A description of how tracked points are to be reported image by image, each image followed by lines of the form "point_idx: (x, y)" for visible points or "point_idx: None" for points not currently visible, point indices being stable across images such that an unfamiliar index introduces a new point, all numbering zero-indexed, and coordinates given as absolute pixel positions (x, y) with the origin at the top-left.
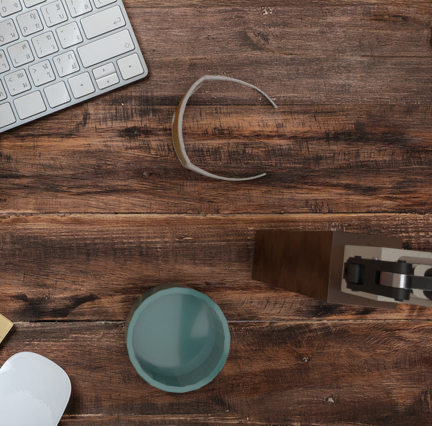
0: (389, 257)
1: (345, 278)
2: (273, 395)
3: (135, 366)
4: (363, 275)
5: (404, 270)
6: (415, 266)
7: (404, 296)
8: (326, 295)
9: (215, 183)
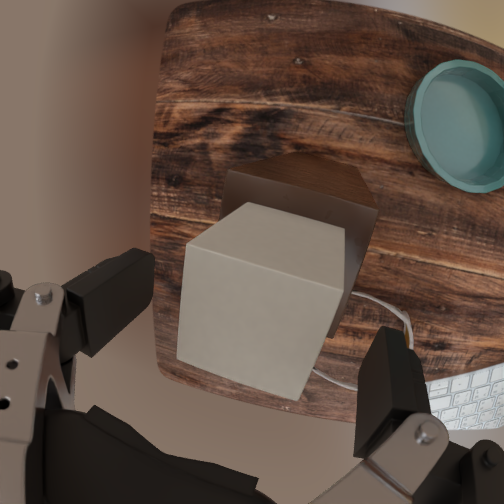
0: (284, 381)
1: (421, 368)
2: (342, 27)
3: None
4: (455, 502)
5: None
6: None
7: None
8: (375, 223)
9: (376, 286)
